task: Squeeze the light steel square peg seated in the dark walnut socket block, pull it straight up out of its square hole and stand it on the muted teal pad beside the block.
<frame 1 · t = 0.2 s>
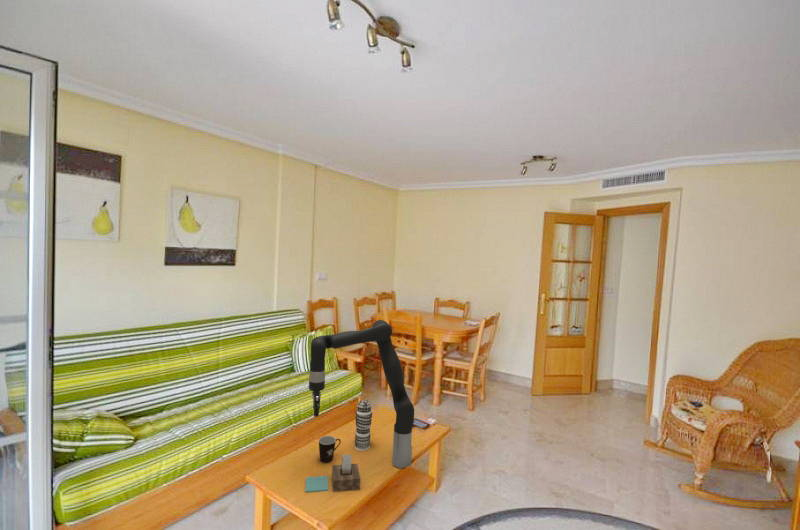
hand: (315, 412, 178), 29 cm above the table, fingers open, 8 cm apart
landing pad: (316, 484, 168), on the table
decorative candle: (362, 447, 202), on the table
socket block: (345, 482, 171), on the table
steel peg: (346, 469, 171), in the socket block
coffee mug: (329, 459, 189), on the table
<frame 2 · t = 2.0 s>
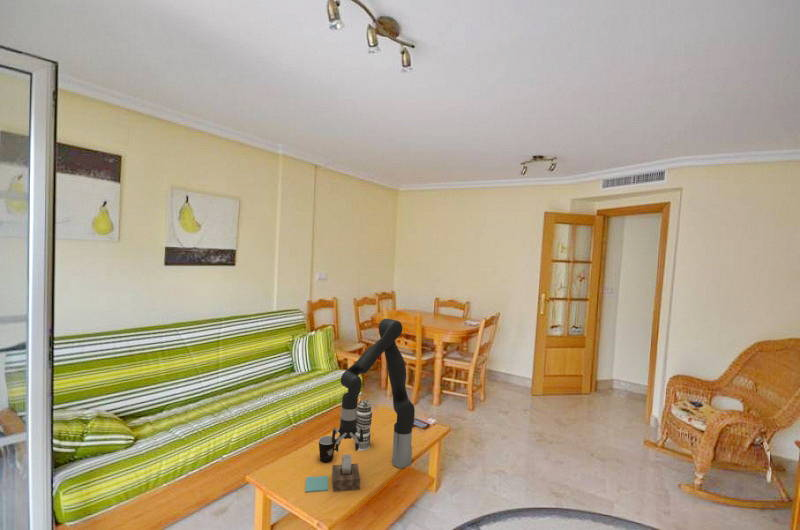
hand: (346, 450, 170), 15 cm above the table, fingers open, 8 cm apart
nothing on the table moved.
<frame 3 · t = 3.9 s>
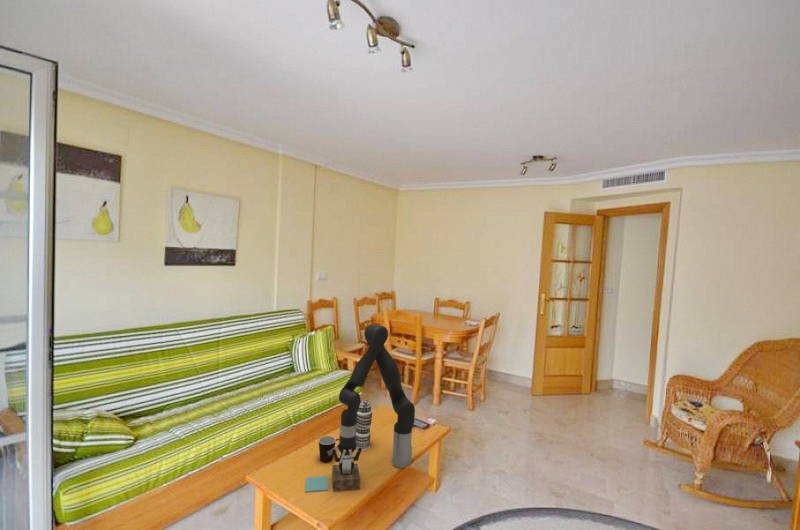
hand: (346, 469, 171), 6 cm above the table, fingers closed on steel peg, 4 cm apart
steel peg: (346, 469, 171), in the socket block, touching gripper
everything else where it was.
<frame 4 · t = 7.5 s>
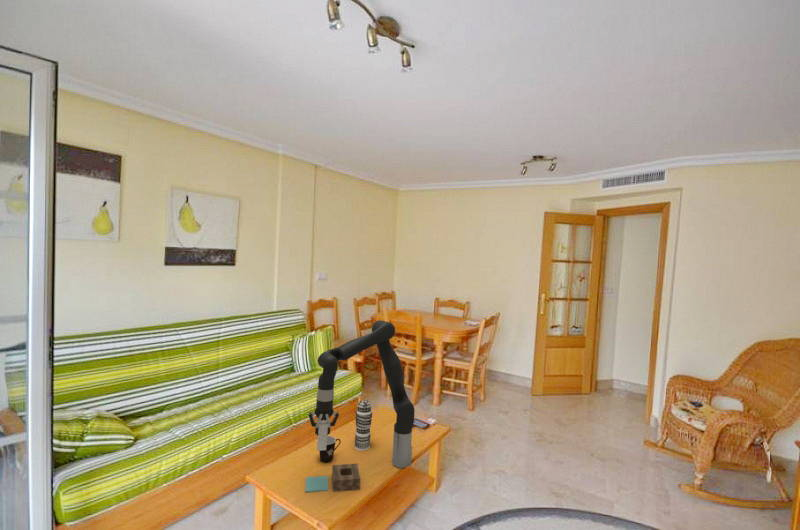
hand: (322, 434, 167), 23 cm above the table, fingers closed on steel peg, 4 cm apart
steel peg: (322, 435, 167), point 23 cm above the table, touching gripper
everything else where it was.
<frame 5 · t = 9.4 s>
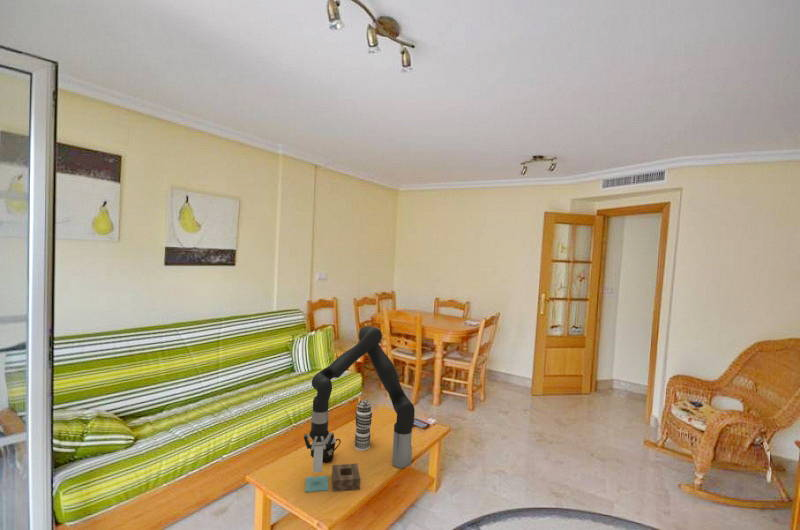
hand: (318, 456, 168), 13 cm above the table, fingers closed on steel peg, 4 cm apart
steel peg: (318, 456, 168), point 13 cm above the table, touching gripper
everything else where it was.
when the fingers open (8 cm above the table, at t = 11.1 s): steel peg drops 1 cm, resting on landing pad.
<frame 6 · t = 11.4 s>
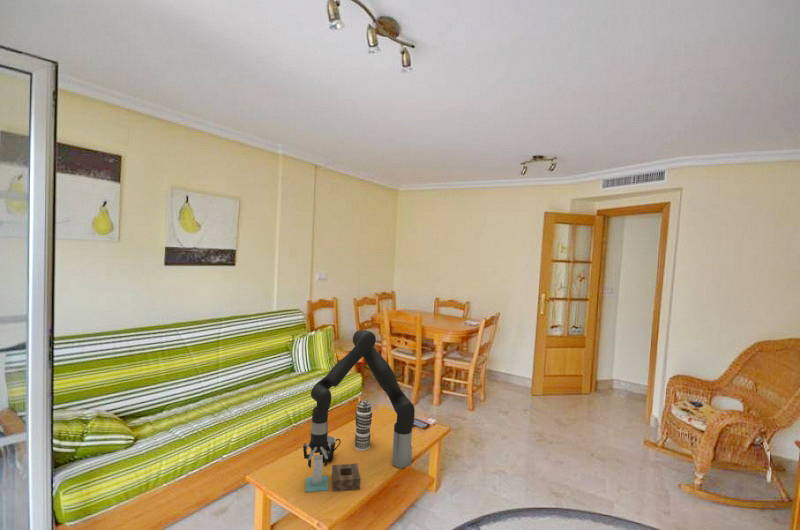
hand: (317, 466, 168), 9 cm above the table, fingers open, 6 cm apart
steel peg: (317, 470, 168), on the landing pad, point 7 cm above the table
everything else where it was.
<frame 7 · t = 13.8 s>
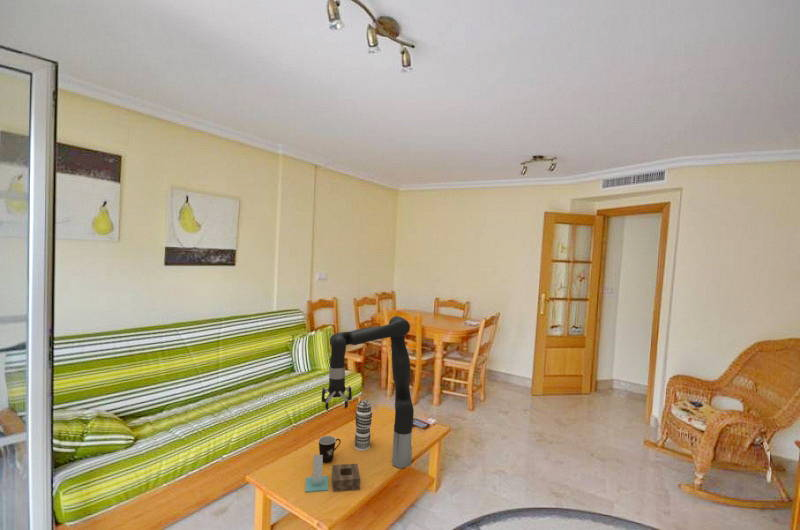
hand: (336, 409, 178), 31 cm above the table, fingers open, 8 cm apart
nothing on the table moved.
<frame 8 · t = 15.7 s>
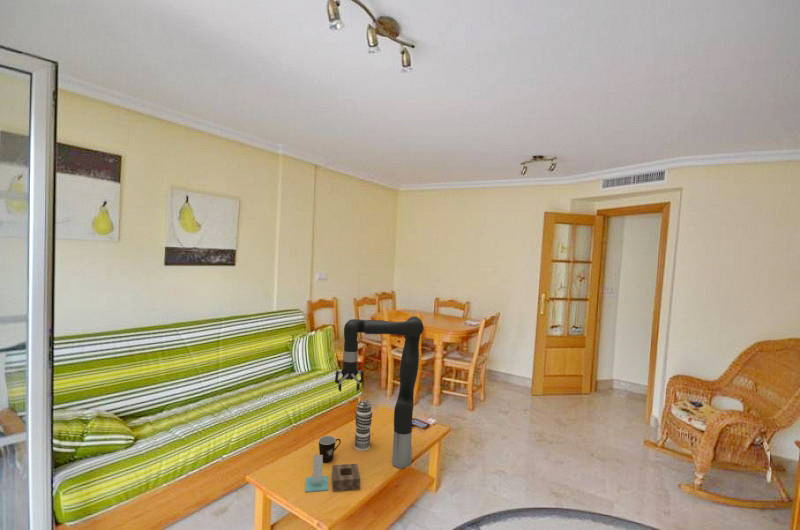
hand: (348, 390, 187), 36 cm above the table, fingers open, 8 cm apart
nothing on the table moved.
at the end: steel peg 0.1 cm off-centre on the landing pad, point 6.6 cm above the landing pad's base; steel peg tilted 0°; the gripper is holding nothing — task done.
